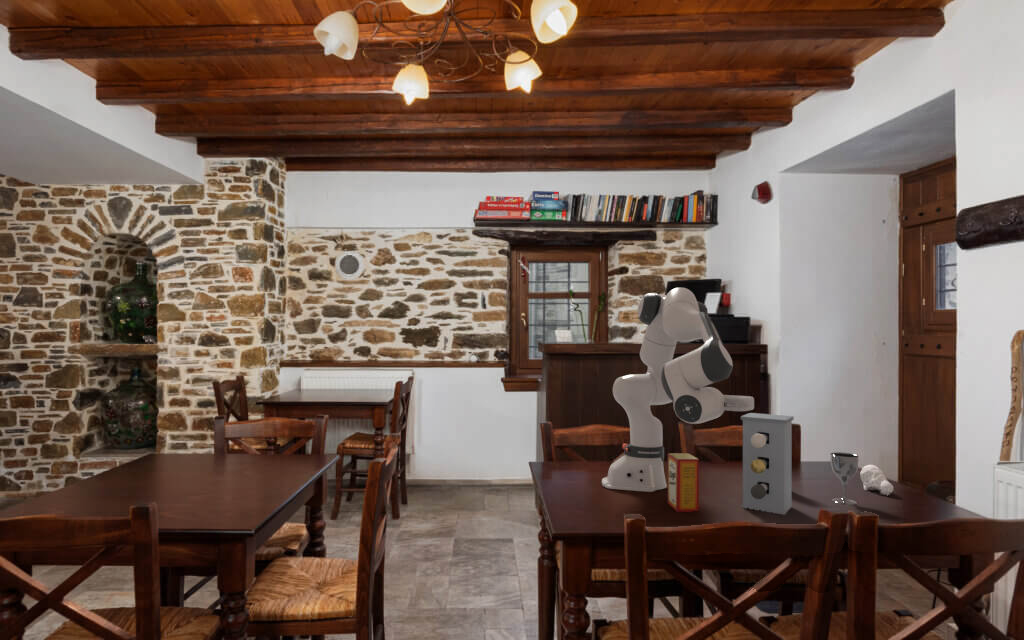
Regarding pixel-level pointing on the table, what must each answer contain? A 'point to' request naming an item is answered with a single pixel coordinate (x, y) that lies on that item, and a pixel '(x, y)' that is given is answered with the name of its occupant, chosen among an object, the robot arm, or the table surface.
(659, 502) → the table surface
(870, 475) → the white lumpy piece
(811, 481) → the table surface
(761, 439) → the plunger top
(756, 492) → the plunger low
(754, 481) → the grey toy cabinet
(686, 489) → the baking soda box
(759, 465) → the plunger mid
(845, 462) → the wine glass
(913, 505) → the table surface
